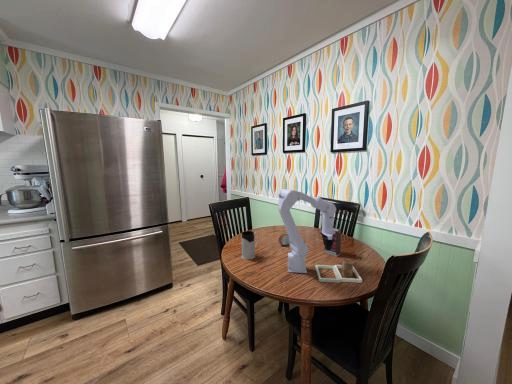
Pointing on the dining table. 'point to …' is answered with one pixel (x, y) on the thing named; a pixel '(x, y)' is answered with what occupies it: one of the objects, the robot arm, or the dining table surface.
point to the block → (347, 268)
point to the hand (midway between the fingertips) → (327, 247)
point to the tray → (348, 278)
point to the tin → (284, 239)
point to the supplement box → (335, 243)
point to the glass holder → (248, 244)
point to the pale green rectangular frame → (327, 278)
